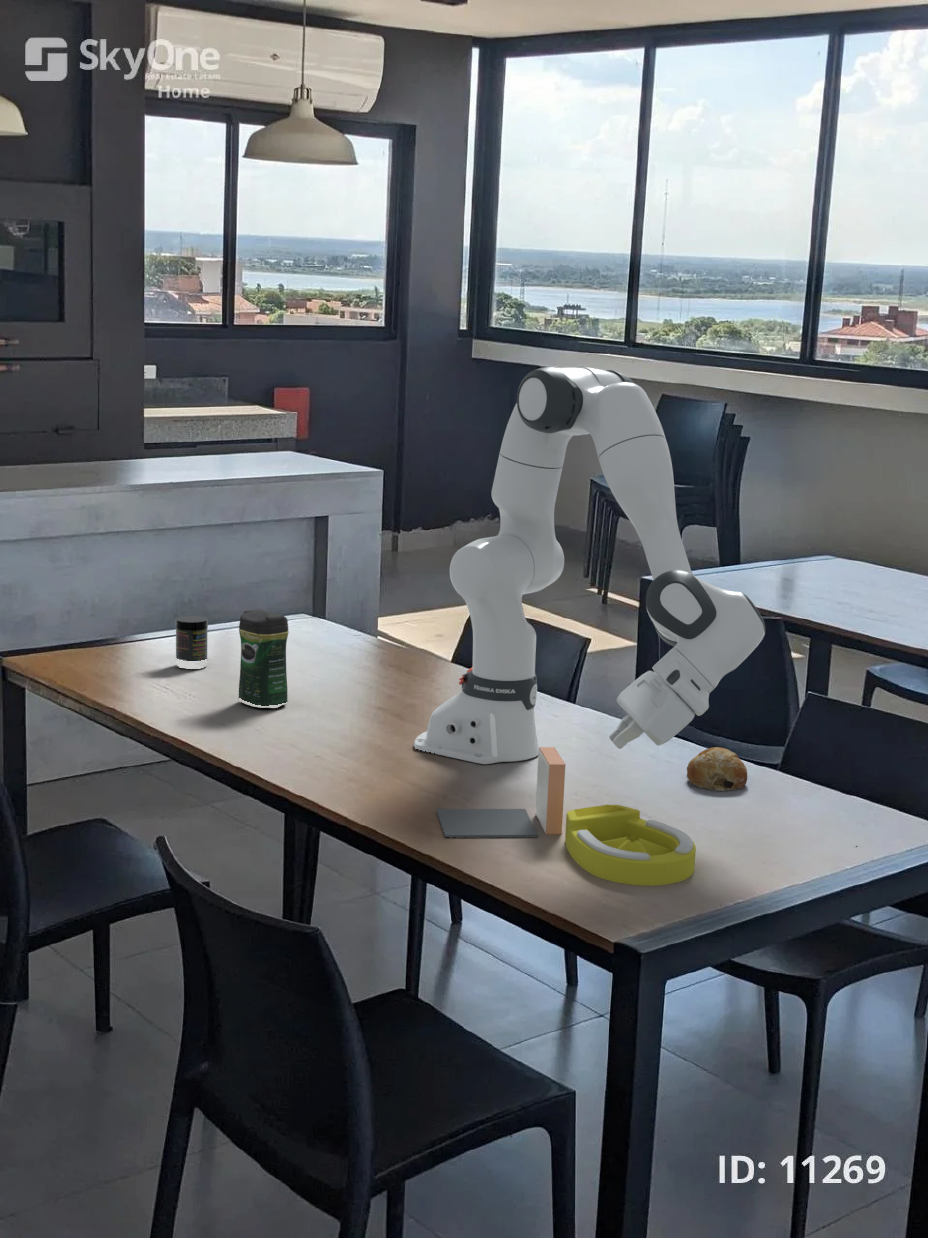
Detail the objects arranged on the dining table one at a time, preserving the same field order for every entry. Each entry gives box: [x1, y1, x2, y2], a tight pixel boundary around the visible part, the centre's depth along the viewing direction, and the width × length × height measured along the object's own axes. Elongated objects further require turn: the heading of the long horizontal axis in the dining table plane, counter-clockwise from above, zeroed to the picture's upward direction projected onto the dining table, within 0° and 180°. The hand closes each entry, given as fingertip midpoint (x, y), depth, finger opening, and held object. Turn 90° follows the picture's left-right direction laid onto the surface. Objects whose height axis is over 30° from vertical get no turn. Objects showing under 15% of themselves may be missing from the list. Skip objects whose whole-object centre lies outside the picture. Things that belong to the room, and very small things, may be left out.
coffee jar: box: [238, 608, 289, 706], centre depth 296 cm, size 10×8×19 cm
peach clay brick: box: [535, 746, 566, 835], centre depth 234 cm, size 3×9×11 cm, turn 7°
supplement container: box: [175, 615, 209, 661], centre depth 325 cm, size 7×7×10 cm
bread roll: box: [686, 746, 748, 792], centre depth 259 cm, size 10×10×8 cm
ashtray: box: [564, 804, 697, 887], centre depth 221 cm, size 16×21×5 cm
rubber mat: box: [436, 808, 539, 839], centre depth 234 cm, size 14×12×1 cm
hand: (613, 743), depth 233 cm, fingers closed
